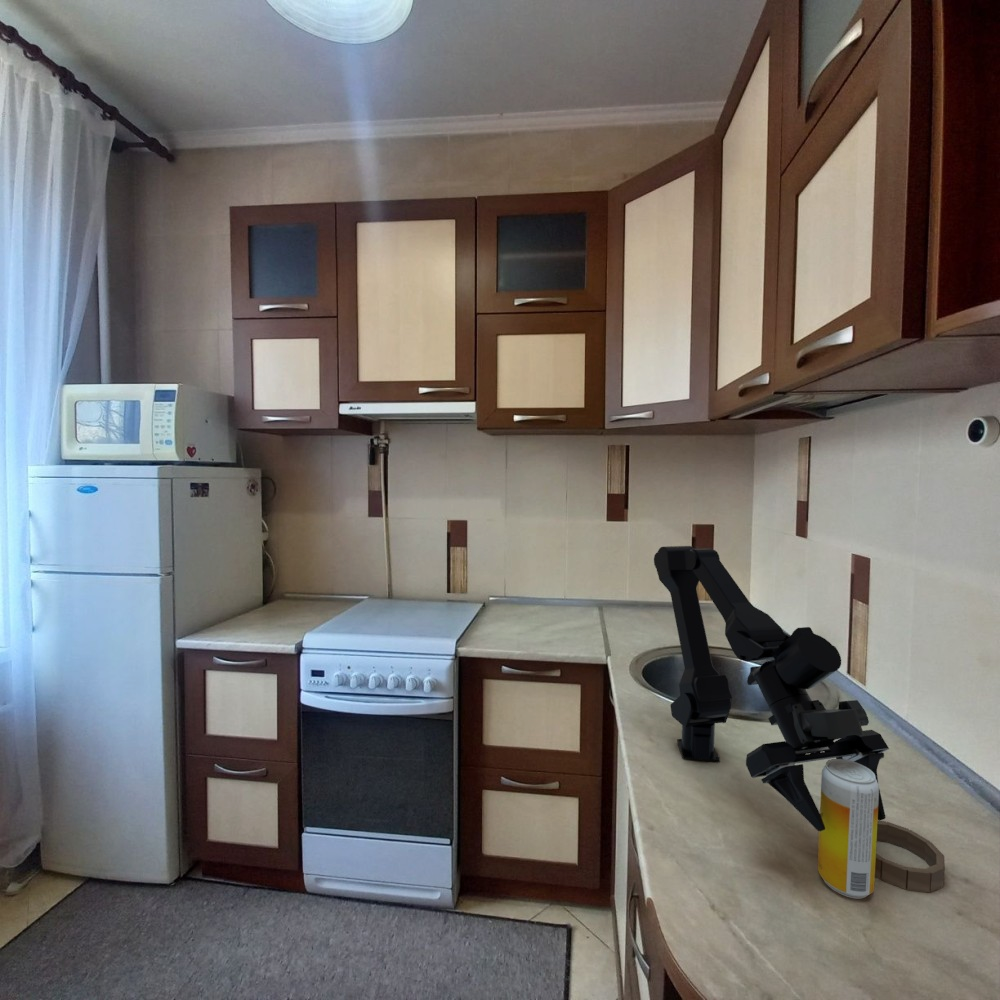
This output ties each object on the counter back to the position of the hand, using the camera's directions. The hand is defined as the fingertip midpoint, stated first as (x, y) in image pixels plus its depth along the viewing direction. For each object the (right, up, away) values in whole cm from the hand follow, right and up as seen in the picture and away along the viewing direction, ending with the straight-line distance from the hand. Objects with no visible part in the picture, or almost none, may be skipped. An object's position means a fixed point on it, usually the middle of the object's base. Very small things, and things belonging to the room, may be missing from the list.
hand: (852, 825), depth 67 cm
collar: (+9, -8, +5) cm, 13 cm away
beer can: (0, -8, +1) cm, 8 cm away
